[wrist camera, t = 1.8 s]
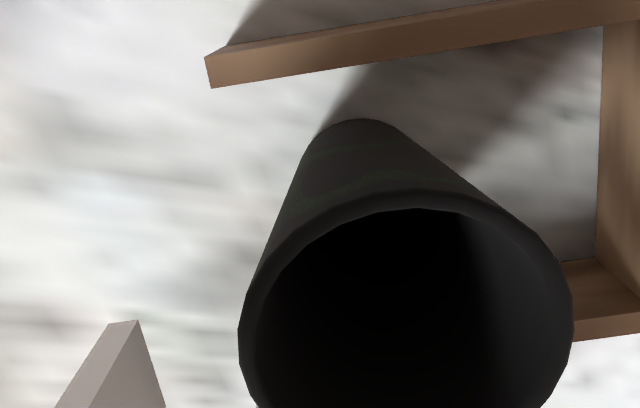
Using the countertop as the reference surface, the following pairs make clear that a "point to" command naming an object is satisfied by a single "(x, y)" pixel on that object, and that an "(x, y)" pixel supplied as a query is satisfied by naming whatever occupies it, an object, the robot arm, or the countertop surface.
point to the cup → (400, 288)
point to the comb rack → (491, 27)
